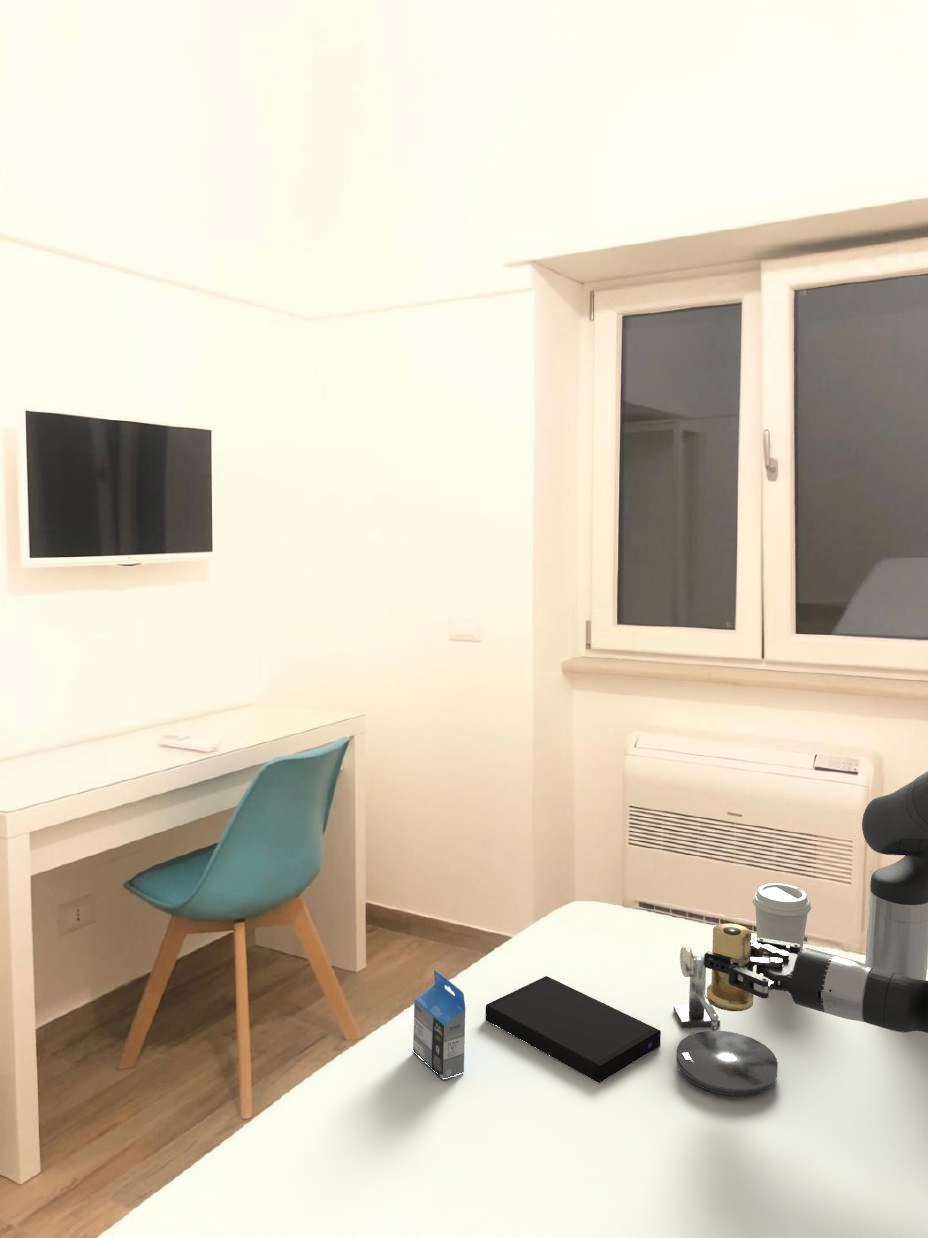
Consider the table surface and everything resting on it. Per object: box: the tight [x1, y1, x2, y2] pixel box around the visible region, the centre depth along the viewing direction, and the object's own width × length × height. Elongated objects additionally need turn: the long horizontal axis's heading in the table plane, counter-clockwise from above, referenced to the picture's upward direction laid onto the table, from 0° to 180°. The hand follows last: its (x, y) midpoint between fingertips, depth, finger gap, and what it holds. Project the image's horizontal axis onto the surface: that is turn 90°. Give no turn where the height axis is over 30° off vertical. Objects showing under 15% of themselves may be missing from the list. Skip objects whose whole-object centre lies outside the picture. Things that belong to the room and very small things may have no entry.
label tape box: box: [412, 969, 466, 1079], centre depth 150 cm, size 9×4×12 cm, turn 32°
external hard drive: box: [485, 975, 662, 1084], centre depth 159 cm, size 14×23×3 cm, turn 43°
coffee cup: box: [752, 882, 812, 951], centre depth 176 cm, size 10×10×15 cm
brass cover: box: [706, 923, 755, 1012], centre depth 146 cm, size 6×6×10 cm
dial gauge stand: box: [673, 946, 721, 1031], centre depth 159 cm, size 12×6×12 cm, turn 3°
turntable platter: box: [675, 1030, 779, 1096], centre depth 148 cm, size 14×14×2 cm
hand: (713, 951), depth 147 cm, fingers closed on brass cover, 5 cm apart
